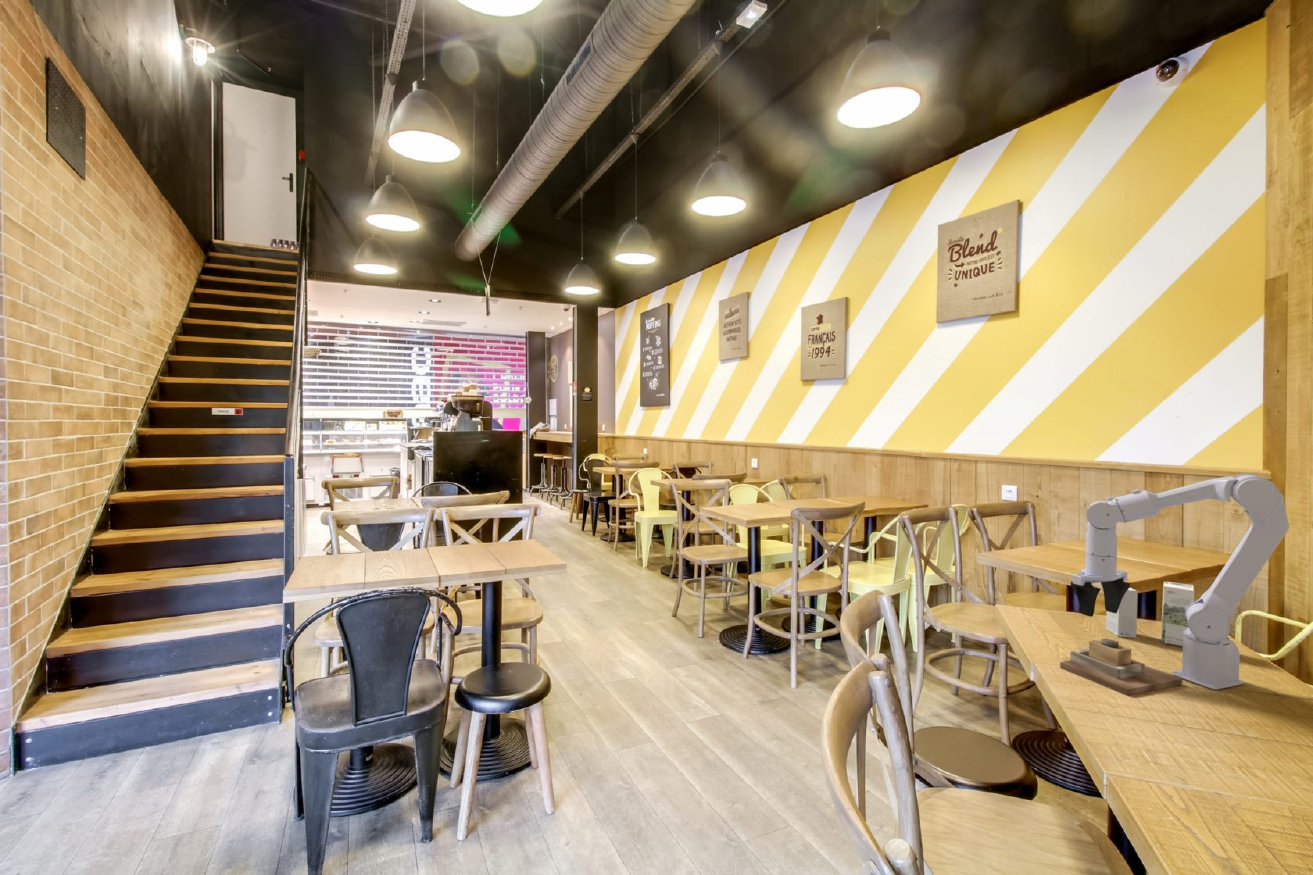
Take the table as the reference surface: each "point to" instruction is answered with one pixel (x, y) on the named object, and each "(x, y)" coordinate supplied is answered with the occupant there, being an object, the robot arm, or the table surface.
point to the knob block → (1110, 652)
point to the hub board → (1119, 674)
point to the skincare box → (1124, 616)
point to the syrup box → (1175, 611)
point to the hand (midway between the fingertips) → (1099, 613)
